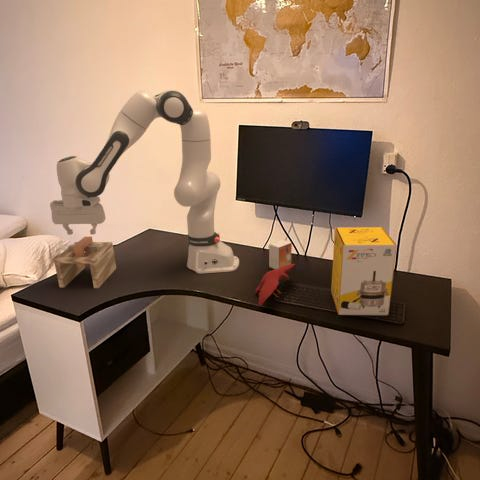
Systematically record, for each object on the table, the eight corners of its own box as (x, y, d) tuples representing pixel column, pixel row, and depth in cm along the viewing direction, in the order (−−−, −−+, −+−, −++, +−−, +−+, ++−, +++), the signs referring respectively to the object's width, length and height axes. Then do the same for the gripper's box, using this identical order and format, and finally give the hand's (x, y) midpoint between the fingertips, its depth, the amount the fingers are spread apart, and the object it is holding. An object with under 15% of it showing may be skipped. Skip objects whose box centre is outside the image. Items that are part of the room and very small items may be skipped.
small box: (278, 271, 166) (278, 247, 163) (268, 267, 170) (268, 244, 166) (291, 265, 171) (292, 242, 167) (281, 261, 175) (282, 238, 171)
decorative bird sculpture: (252, 324, 138) (281, 302, 130) (234, 304, 139) (261, 280, 131) (281, 288, 162) (307, 267, 154) (265, 271, 162) (290, 249, 154)
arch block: (84, 267, 159) (80, 245, 156) (77, 266, 159) (73, 245, 156) (95, 256, 168) (91, 236, 165) (88, 256, 169) (84, 236, 165)
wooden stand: (116, 268, 174) (111, 237, 169) (98, 288, 157) (93, 255, 152) (80, 267, 175) (74, 237, 170) (59, 287, 159) (52, 254, 154)
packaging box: (376, 291, 148) (382, 227, 139) (388, 315, 133) (396, 244, 124) (331, 291, 149) (334, 227, 140) (338, 315, 134) (343, 245, 125)
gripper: (44, 202, 152) (52, 237, 157) (96, 201, 150) (103, 236, 155) (53, 198, 158) (60, 231, 163) (103, 197, 156) (109, 230, 161)
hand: (81, 234), depth 159 cm, fingers open, 8 cm apart
